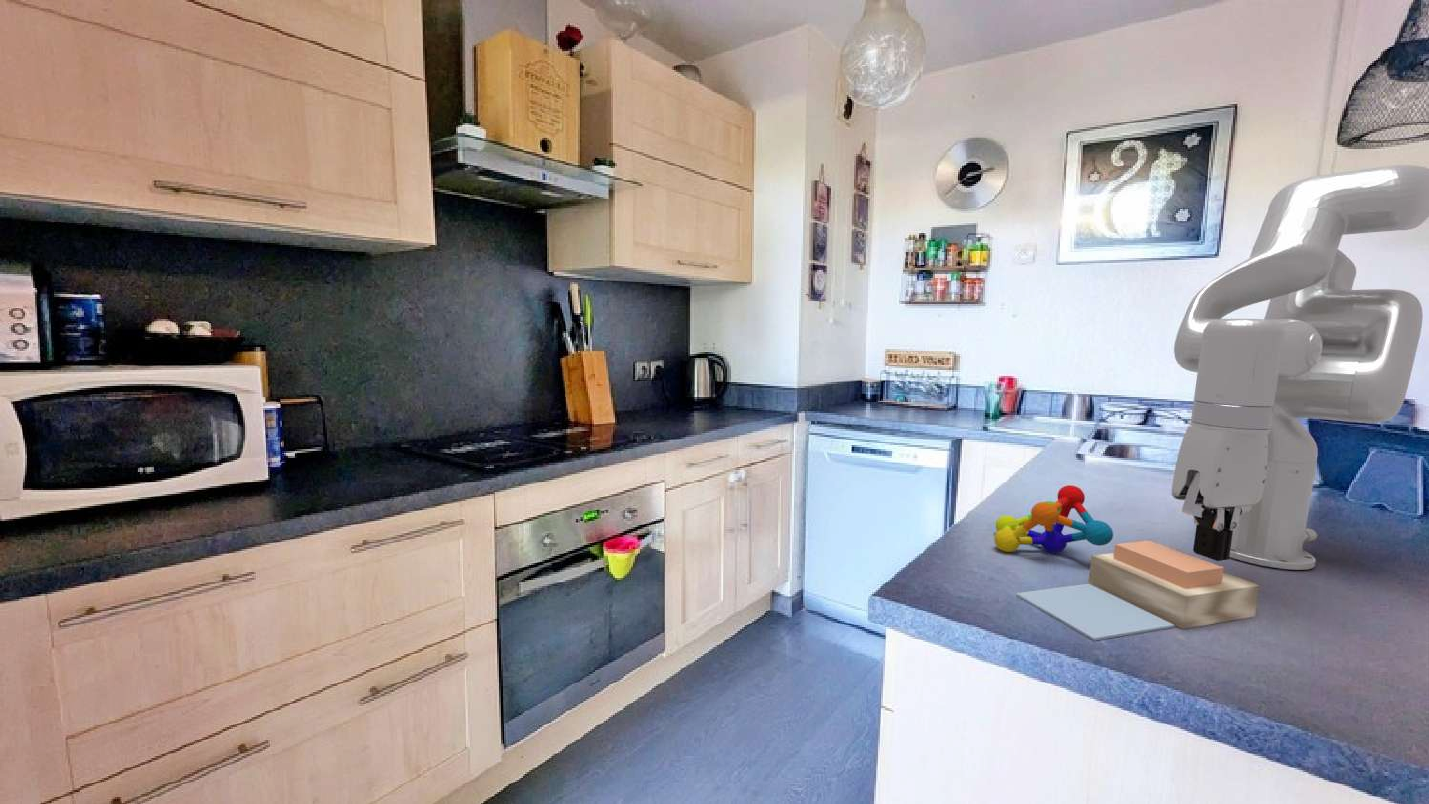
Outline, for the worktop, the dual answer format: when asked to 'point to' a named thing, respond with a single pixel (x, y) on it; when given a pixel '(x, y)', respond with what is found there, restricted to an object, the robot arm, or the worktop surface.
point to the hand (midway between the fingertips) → (1210, 556)
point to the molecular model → (1052, 525)
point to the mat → (1094, 611)
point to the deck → (1175, 594)
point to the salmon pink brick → (1169, 564)
